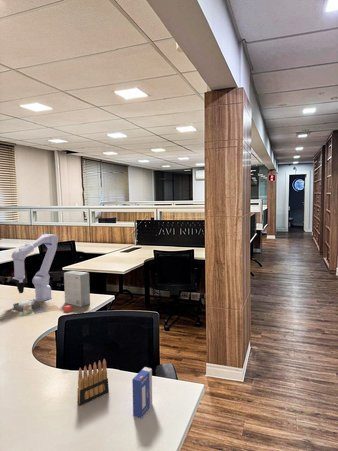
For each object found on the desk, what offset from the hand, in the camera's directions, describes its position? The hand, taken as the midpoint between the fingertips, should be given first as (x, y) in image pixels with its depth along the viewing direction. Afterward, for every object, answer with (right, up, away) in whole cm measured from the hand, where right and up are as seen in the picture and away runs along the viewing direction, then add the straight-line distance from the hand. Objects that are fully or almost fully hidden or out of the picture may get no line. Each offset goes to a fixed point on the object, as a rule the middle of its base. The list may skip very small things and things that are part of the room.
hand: (20, 291), depth 199 cm
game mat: (+15, -10, -8) cm, 20 cm away
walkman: (+84, -17, -99) cm, 130 cm away
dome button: (+5, -9, -2) cm, 10 cm away
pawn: (+9, -10, -11) cm, 18 cm away
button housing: (+5, -10, -2) cm, 11 cm away
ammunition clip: (+67, -17, -92) cm, 115 cm away
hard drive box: (+34, -9, +5) cm, 35 cm away
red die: (+32, -10, -9) cm, 35 cm away
